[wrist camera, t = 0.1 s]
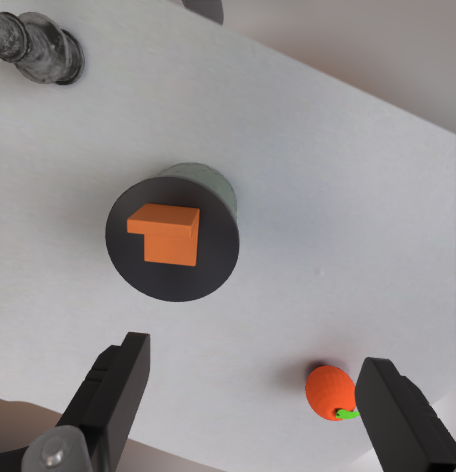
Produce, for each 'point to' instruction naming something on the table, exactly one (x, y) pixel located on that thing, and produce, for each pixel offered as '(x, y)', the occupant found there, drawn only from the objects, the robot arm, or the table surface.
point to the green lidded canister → (209, 233)
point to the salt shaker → (40, 48)
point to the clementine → (331, 393)
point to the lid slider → (167, 233)
